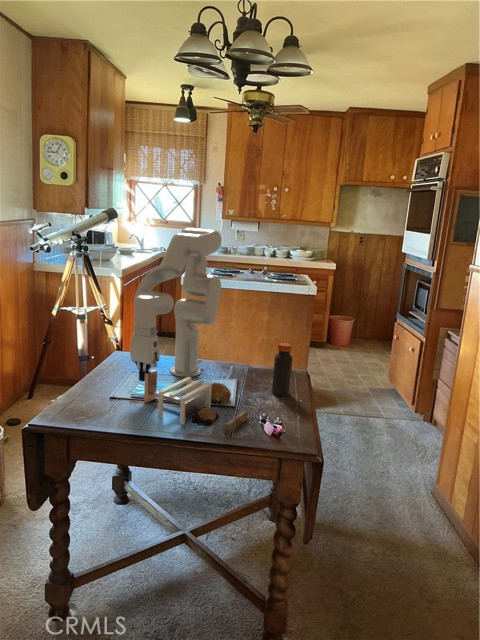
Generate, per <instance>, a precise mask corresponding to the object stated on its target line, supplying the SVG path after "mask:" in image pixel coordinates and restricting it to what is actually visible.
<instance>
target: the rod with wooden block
mask: <svg viewBox="0 0 480 640" xmlns="http://www.w3.org/2000/svg"><path fill="white" fill-rule="evenodd" d="M157 382H158V370H157V369H152V370H149V372H147V373H145V381H144V393H143V394H144V395H143V396H144V397H143V398H144V400H143V402H144V403H151V401H153V400H155V399H157V398H159V391H157V388H158V387H157V386H158V385H157V384H158V383H157ZM180 398H181V397H178V396H176V397H174V398H170V397H169V394H168V393H165V394H164V395H163V400H166V401H170V402H172V403H175V404H179V405H181V401H180ZM205 400H206V392H204V391H203V392H201V393H199V394H197V395H196V396H194V397H192V398H190V399H188V400H186V402H185V420H186V419H188V418H191V416H192V415H194V414H195V413H196V412H198V410H199V409H201V408H202V409H203V408H206V407H205Z"/></svg>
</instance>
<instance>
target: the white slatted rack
mask: <svg viewBox="0 0 480 640" xmlns="http://www.w3.org/2000/svg"><path fill="white" fill-rule="evenodd" d="M212 384H213V383H212V382H206V383H203V382H202V379H197V380H192V377H184V378H183V379H181V380H179V381H177V382H175V383H173V384H171V385H169V386H166V387H164V388H163V389H160V390H159V391H158V392H159V397H158V406H157V417H159V418H163V415H164V399H163V395H164V394H168V393H169V392H171V391H173V390H175V389H177V388H179V387H181V386H183V385H185V386H184V387H181V388H179V389H177V390H175V391H173V392H171V393H169V394H168V395H169V397H170V398H174V397H178V396H180V395H182V394H183V393H185V395H182V396H180V397H179V398H180V401H181V404H179V406H180V407H179V425H184V424H185V421H186V419H185V402H186V400H188V399H190V398H192V397H194V396H196V395H197V394H199V393H201V392H203V391H204V392H206V400H205V407H204V408H209V409H211V405H212V404H211V389H212Z"/></svg>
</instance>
